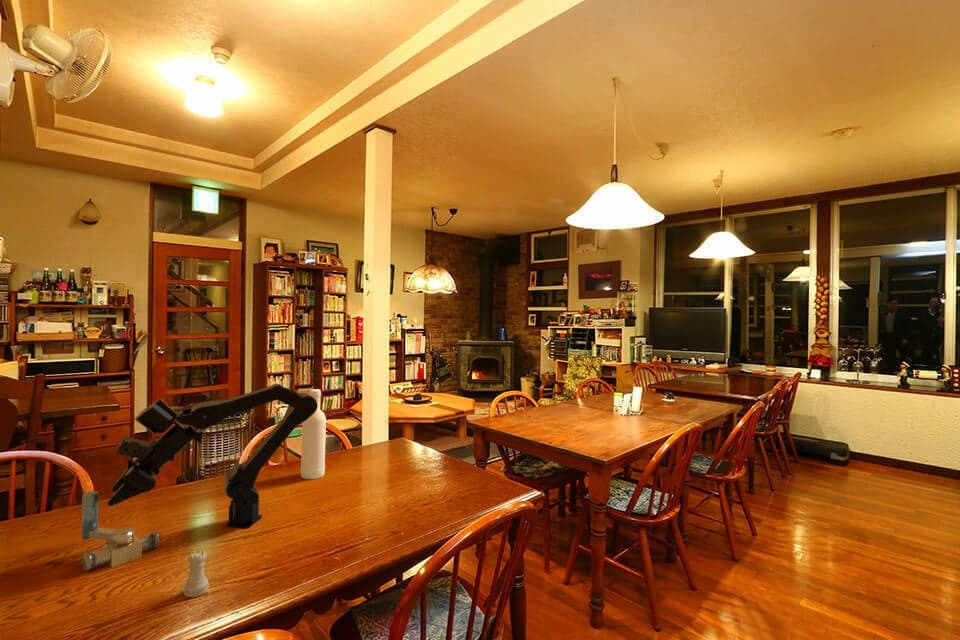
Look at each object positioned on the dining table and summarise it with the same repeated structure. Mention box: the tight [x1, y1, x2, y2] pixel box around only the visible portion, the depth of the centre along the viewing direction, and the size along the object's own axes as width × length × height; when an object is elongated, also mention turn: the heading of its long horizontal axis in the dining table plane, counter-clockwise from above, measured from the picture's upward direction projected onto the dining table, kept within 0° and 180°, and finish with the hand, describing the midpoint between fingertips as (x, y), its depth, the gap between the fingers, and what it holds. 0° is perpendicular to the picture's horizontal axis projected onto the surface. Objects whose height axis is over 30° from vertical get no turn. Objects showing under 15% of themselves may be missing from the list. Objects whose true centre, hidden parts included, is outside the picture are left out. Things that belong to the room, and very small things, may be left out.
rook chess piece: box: [183, 549, 210, 599], centre depth 93 cm, size 4×4×8 cm
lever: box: [81, 490, 135, 545], centre depth 105 cm, size 12×4×10 cm, turn 81°
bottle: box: [300, 388, 327, 480], centre depth 159 cm, size 8×8×30 cm
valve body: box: [81, 530, 162, 572], centre depth 104 cm, size 14×6×4 cm, turn 143°
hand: (110, 497), depth 108 cm, fingers open, 9 cm apart
